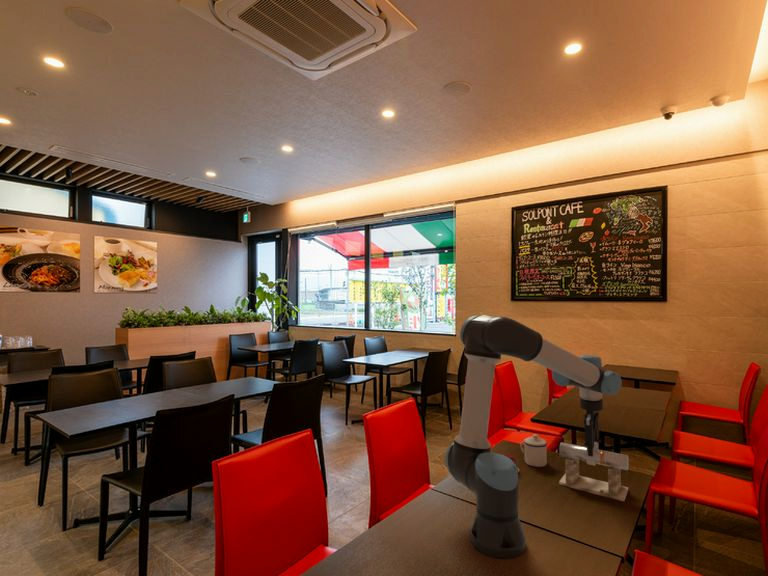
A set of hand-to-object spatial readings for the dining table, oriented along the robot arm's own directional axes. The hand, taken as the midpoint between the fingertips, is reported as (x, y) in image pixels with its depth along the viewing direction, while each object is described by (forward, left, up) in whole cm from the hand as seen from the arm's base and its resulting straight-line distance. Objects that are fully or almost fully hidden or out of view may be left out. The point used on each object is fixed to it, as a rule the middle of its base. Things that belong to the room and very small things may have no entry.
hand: (592, 461), depth 149 cm
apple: (-30, -4, -10) cm, 32 cm away
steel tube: (0, -1, 0) cm, 1 cm away
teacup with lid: (-25, +10, -10) cm, 29 cm away
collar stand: (0, 0, -9) cm, 9 cm away
